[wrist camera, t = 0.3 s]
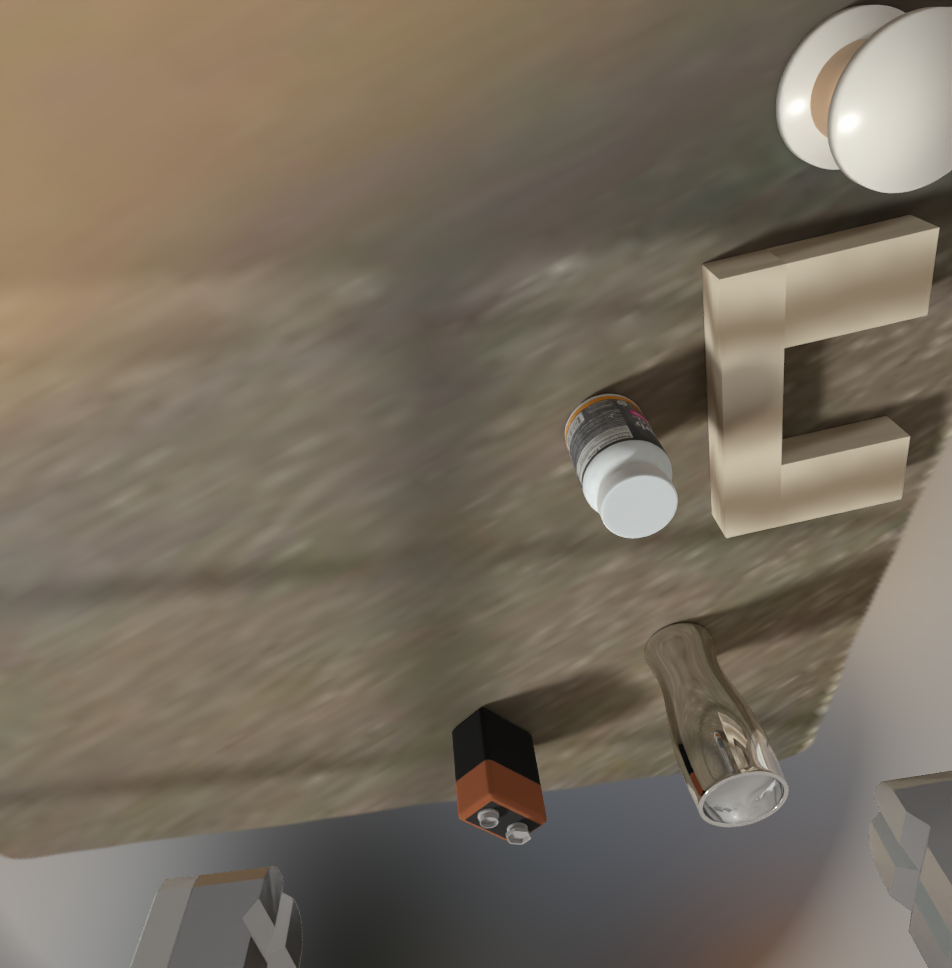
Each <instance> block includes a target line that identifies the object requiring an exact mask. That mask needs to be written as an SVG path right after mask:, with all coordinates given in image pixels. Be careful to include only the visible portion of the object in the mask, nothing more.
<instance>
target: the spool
mask: <svg viewBox="0 0 952 968" xmlns="http://www.w3.org/2000/svg"><path fill="white" fill-rule="evenodd" d="M776 120H777V125H778V129H779V132H780V135H781V137H782V139H783V141H784V143H785V144H786V146H787V147H788V149H789V150H790V151H791V152H792V153H793V154H794V155H795V156H797V157H798V158H799V159H801V160H803V161H805V162H807V163H809V164H812V165H814V166H817V167H820V168H824V169H831V170H837V169H840V170H841V171H842V172H843V173H844V174H845V175H846V176H847V177H848V178H849V179H851V180H852V181H854V182H856V183H858V184H860V185H862V186H864V187H867V188H869V189H872V190H875V191H879V192H885V193H901V192H907V191H912V190H915V189H918V188H921V187H923V186H926V185H928V184H930V183H932V182H934V181H936V180H938V179H939V178H941V177H942V176H944V175H945V174H947V173H948V172H950V171H951V170H952V7H926V8H920V9H916V10H913V11H910V12H907V13H905V12H903V11H901V10H899V9H897V8H894V7H891V6H884V5H858V6H853V7H849V8H846V9H843V10H841V11H839V12H836V13H834V14H832V15H831V16H829V17H827V18H826V19H824V20H823V21H821V22H820V23H819V24H818V25H817V26H815V27H814V28H813V29H812V30H811V31H810V32H809V33H808V34H807V35H806V36H805V37H804V38H803V40H802V41H801V42H800V43H799V44H798V46H797V47H796V49H795V50H794V52H793V53H792V55H791V57H790V58H789V60H788V62H787V64H786V66H785V69H784V71H783V73H782V76H781V79H780V83H779V86H778V91H777V96H776Z"/></svg>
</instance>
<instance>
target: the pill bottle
mask: <svg viewBox="0 0 952 968" xmlns="http://www.w3.org/2000/svg"><path fill="white" fill-rule="evenodd" d="M565 442H566V446H567V449H568V452H569V455H570V457H571V460H572V462H573V465H574V468H575V471H576V474H577V477H578V480H579V482H580V485H581V488H582V490H583V493H584V495H585V498H586V500H587V502H588V503H589V504H590V506H591V507H592V508H593V509H594V510H595V511H597V512H598V513H599V514H600V516H601V519H602V521H603V523H604V524H605V526H606V527H607V528H608V529H609V530H610V531H611V532H613V533H614V534H616V535H618V536H621V537H625V538H641V537H645V536H649V535H651V534H654V533H655V532H657V531H659V530H661V529H662V528H663V527H664V526H666V525H667V524H668V523H669V521H670V520H671V519H672V518H673V516H674V514H675V512H676V509H677V505H678V496H677V492H676V489H675V487H674V485H673V483H672V482H671V481H672V467H671V463H670V460H669V458H668V456H667V454H666V452H665V451H664V449H663V447H662V446H661V444H660V442H659V441H658V439H657V437H656V436H655V434H654V432H653V430H652V428H651V427H650V425H649V423H648V421H647V420H646V418H645V416H644V415H643V413H642V411H641V410H640V408H639V407H638V406H637V405H636V404H635V403H634V402H633V401H632V400H630V399H629V398H626V397H624V396H621V395H617V394H602V395H598V396H594V397H591V398H589V399H587V400H586V401H584V402H583V403H581V404H580V405H579V406H578V407H577V408H576V409H575V410H574V411H573V412H572V414H571V415H570V417H569V419H568V421H567V424H566V428H565Z"/></svg>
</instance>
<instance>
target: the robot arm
mask: <svg viewBox="0 0 952 968" xmlns="http://www.w3.org/2000/svg"><path fill="white" fill-rule="evenodd" d="M874 801H875V803H876V804H877V806H878V808H879V809H880V812H879V813H878V814H877V815H876V816H875V817H874V818H873V819H872V820H871V821H870V830H869V841H870V846H871V851H872V856H873V860H874V862H875V865H876V868H877V870H878V872H879V875H880V877H881V879H882V881H883V883H884V885H885V887H886V889H887V891H888V893H889V895H890V896H891V897H892V898H894V899H895V900H896V901H898V902H899V903H901V904H902V905H903V906H905V907H906V908H907V909H909V910H910V911H911V919H910V925H909V933H910V934H911V936H912V938H913V940H914V942H915V944H916V946H917V948H918V949H919V951H920V953H921V955H922V957H923V959H924V961H925V962H926V964H927V966H928V968H952V771H947V772H940V773H934V774H928V775H921V776H914V777H908V778H902V779H896V780H889V781H882V782H880V783H879V784H878V785H877V786H876V789H875V795H874ZM283 882H284V878H283V877H282V875H281V873H280V871H279V870H278V868H277V866H269V867H261V868H254V869H245V870H237V871H230V872H222V873H214V874H206V875H205V874H201V875H194V876H187V877H181V878H173V879H166V880H165V881H164V883H163V884H162V885H161V887H160V888H159V890H158V891H157V893H156V894H155V897H154V900H153V903H152V906H151V908H150V911H149V914H148V917H147V920H146V923H145V925H144V928H143V931H142V934H141V937H140V940H139V942H138V945H137V948H136V951H135V954H134V957H133V960H132V962H131V965H130V968H299V966H300V959H301V952H302V923H301V918H300V913H299V909H298V907H297V905H296V903H295V900H294V899H293V898H292V897H290V896H288V895H286V894H284V893H282V888H283Z"/></svg>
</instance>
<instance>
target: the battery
mask: <svg viewBox="0 0 952 968" xmlns="http://www.w3.org/2000/svg"><path fill="white" fill-rule="evenodd" d="M452 736H453V750H454V763H455V776H456V790H457V803H458V815H459V818H460V819H461V820H462V821H464V822H467V823H469V824H471V825H473V826H475V827H478V828H480V829H482V830H484V831H486V832H489V833H491V834H493V835H495V836H497V837H500V838H502V839H504V840H506V841H508V842H509V843H510V844H524V843H525V842H527V841H528V840H530V839H531V835H530V833H531V832H532V831H534V830H535V829H537V828H538V827H540V826H541V825H542V824H544V823H545V822H546V813H545V807H544V802H543V796H542V790H541V785H540V779H539V774H538V768H537V763H536V757H535V752H534V746H533V741H532V736H531V735H530V734H529V733H527V732H525V731H524V730H522V729H520V728H518V727H516V726H515V725H513V724H511V723H509V722H507V721H506V720H504V719H502V718H500V717H498V716H496V715H495V714H493V713H491V712H489V711H487V710H485V709H483V708H481V709H479V710H478V711H476V712H475V713H474V714H473V715H471V716H470V717H469V718H468V719H466V720H465V721H464V722H463V723H461V724H460V725H459V726H457V727H456V728H455V729H454V730H453V731H452Z"/></svg>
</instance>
